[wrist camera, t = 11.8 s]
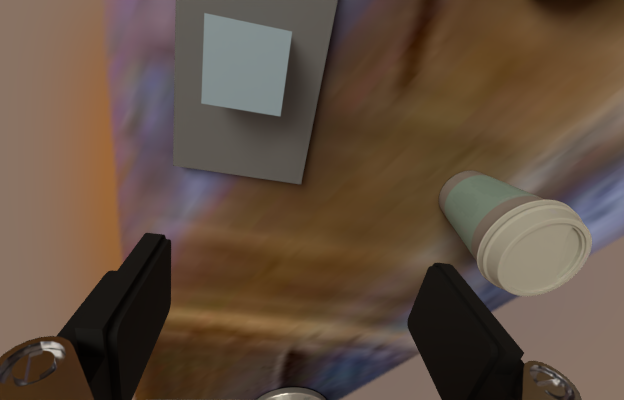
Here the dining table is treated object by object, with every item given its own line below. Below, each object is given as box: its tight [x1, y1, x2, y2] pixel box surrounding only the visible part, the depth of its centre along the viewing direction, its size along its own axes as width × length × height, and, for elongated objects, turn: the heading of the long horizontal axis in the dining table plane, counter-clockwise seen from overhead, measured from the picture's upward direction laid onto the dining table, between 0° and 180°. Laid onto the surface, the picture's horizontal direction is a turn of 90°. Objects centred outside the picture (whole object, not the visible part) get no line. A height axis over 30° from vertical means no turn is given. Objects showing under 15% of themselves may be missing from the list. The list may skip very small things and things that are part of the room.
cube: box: [201, 13, 292, 116], centre depth 24 cm, size 6×6×6 cm
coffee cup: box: [439, 171, 592, 296], centre depth 30 cm, size 8×8×12 cm
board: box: [173, 0, 338, 184], centre depth 27 cm, size 20×12×2 cm, turn 169°
